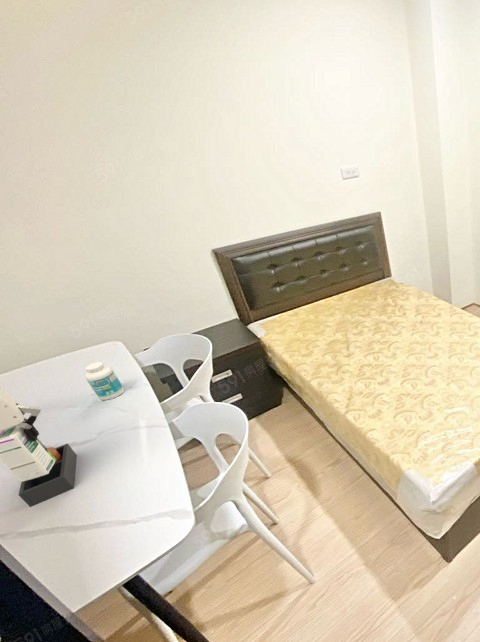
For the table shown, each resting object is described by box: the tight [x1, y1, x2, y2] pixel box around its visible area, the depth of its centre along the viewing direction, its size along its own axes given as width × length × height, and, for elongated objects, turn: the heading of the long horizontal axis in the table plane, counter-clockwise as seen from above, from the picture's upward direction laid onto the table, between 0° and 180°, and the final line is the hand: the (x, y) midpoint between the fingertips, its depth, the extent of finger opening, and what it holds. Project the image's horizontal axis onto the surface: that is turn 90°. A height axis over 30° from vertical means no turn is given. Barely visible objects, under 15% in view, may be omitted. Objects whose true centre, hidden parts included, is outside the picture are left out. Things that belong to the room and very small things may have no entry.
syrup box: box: [0, 425, 56, 483], centre depth 106 cm, size 6×6×14 cm
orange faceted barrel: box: [46, 446, 62, 462], centre depth 116 cm, size 6×6×7 cm
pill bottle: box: [84, 361, 125, 401], centre depth 147 cm, size 8×7×14 cm
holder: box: [18, 443, 78, 508], centre depth 114 cm, size 9×17×6 cm, turn 41°
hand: (15, 445), depth 104 cm, fingers closed on syrup box, 6 cm apart
